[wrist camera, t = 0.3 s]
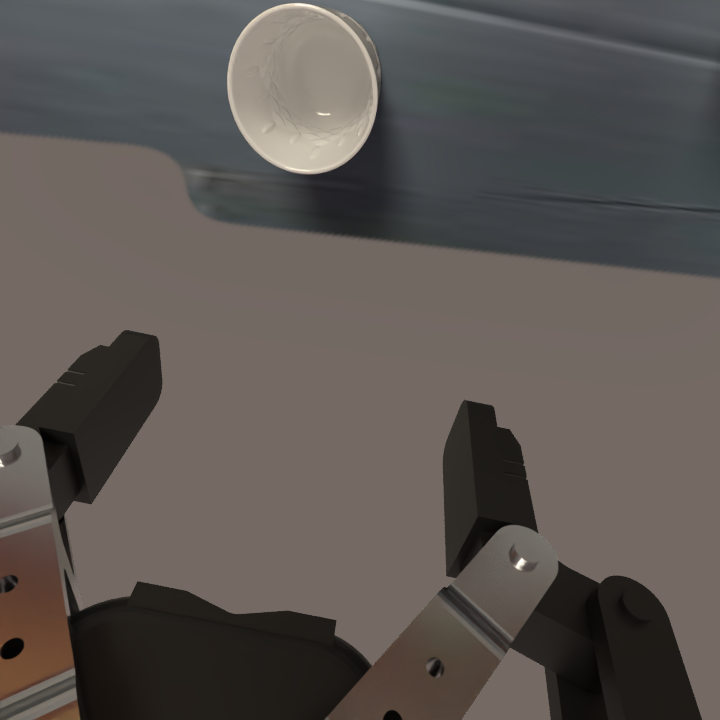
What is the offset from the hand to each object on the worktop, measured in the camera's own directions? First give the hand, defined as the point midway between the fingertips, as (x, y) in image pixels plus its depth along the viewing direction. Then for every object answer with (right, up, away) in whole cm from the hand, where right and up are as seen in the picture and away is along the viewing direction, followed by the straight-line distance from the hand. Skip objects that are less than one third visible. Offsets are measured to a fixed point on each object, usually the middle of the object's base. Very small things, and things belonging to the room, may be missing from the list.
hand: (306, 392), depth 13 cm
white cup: (-1, +20, +21) cm, 29 cm away
